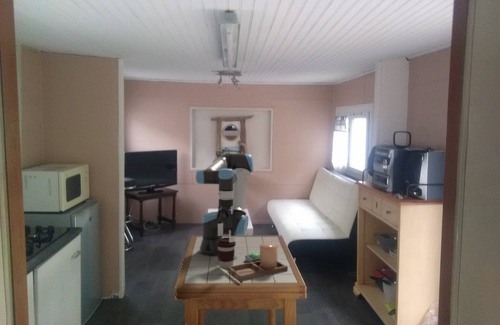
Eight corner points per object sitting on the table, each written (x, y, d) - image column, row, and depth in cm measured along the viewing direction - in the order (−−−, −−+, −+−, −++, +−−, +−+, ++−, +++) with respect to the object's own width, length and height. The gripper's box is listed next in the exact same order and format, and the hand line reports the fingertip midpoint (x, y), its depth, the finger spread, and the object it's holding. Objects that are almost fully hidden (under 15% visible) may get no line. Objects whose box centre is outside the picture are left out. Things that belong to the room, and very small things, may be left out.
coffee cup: (218, 271, 197) (218, 242, 196) (215, 264, 207) (215, 237, 205) (237, 269, 200) (237, 241, 198) (233, 262, 209) (233, 236, 208)
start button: (249, 259, 209) (249, 253, 209) (256, 257, 211) (256, 252, 211) (253, 261, 205) (253, 256, 205) (261, 260, 207) (261, 254, 207)
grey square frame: (245, 262, 210) (245, 255, 209) (257, 260, 214) (257, 253, 213) (252, 267, 203) (252, 259, 202) (265, 264, 207) (265, 257, 206)
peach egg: (256, 266, 200) (256, 244, 199) (271, 263, 204) (271, 241, 203) (265, 272, 192) (265, 249, 191) (280, 269, 197) (281, 246, 195)
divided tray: (227, 273, 195) (227, 266, 194) (272, 263, 208) (272, 258, 208) (240, 282, 183) (240, 276, 182) (287, 272, 196) (287, 266, 195)
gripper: (209, 195, 209) (209, 233, 210) (230, 203, 187) (230, 245, 189) (222, 194, 212) (222, 232, 214) (243, 201, 191) (243, 243, 192)
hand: (225, 238), depth 201 cm, fingers open, 13 cm apart
